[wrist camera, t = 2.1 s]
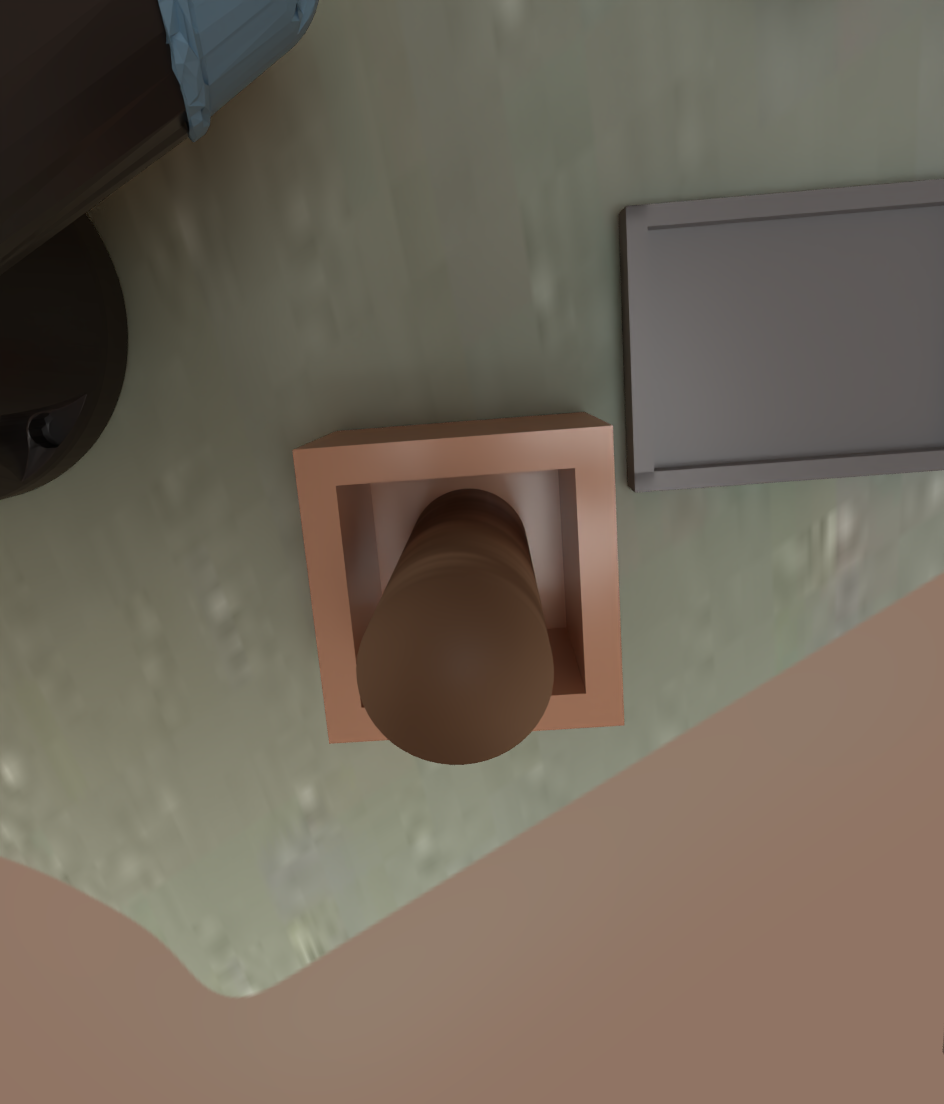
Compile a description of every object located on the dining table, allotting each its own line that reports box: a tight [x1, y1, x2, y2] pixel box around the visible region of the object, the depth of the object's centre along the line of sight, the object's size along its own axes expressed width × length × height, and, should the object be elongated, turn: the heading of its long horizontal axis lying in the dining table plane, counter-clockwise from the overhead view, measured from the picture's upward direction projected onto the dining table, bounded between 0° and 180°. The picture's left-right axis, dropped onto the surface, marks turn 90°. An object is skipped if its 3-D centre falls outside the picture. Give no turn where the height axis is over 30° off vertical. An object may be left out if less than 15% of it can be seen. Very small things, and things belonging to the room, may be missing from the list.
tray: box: [619, 179, 944, 492], centre depth 33 cm, size 14×11×2 cm
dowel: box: [356, 489, 554, 765], centre depth 28 cm, size 5×5×15 cm
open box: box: [292, 412, 624, 744], centre depth 32 cm, size 11×11×8 cm
